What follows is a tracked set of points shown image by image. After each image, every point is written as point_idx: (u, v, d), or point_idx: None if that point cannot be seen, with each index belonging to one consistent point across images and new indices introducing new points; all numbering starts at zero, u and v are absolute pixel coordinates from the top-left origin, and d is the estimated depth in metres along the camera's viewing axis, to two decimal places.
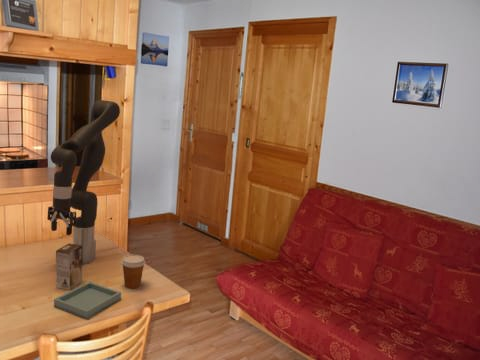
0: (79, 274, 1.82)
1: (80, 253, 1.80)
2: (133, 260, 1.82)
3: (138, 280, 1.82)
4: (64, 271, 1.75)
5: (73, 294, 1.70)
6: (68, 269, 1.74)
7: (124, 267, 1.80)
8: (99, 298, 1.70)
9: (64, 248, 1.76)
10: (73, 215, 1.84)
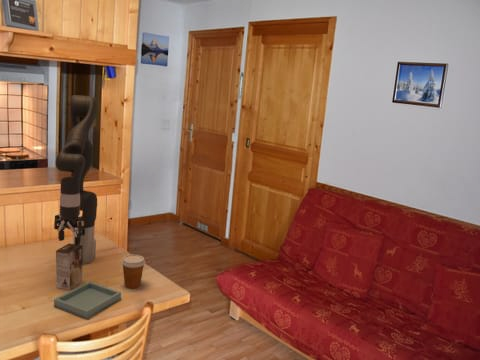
0: (79, 274, 1.82)
1: (80, 253, 1.80)
2: (133, 260, 1.82)
3: (138, 280, 1.82)
4: (64, 271, 1.75)
5: (73, 294, 1.70)
6: (68, 269, 1.74)
7: (124, 267, 1.80)
8: (99, 298, 1.70)
9: (64, 248, 1.76)
10: (82, 224, 1.72)
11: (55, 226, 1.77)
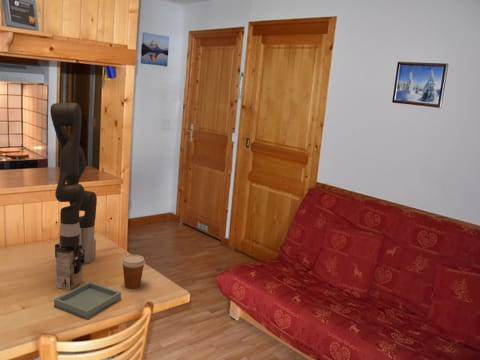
0: (79, 274, 1.82)
1: None
2: (133, 260, 1.82)
3: (138, 280, 1.82)
4: (64, 271, 1.75)
5: (73, 294, 1.70)
6: (68, 269, 1.74)
7: (124, 267, 1.80)
8: (99, 298, 1.70)
9: (64, 248, 1.76)
10: (81, 254, 1.75)
11: None
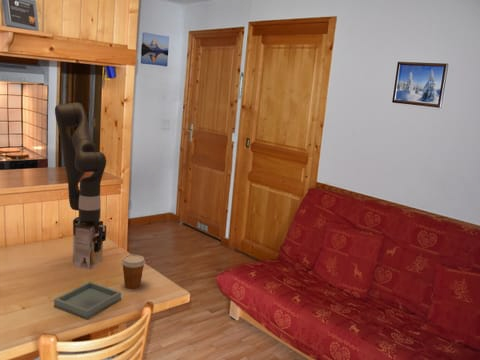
0: (99, 253, 1.65)
1: None
2: (133, 260, 1.82)
3: (138, 280, 1.82)
4: (83, 249, 1.58)
5: (73, 294, 1.70)
6: (88, 246, 1.58)
7: (124, 267, 1.80)
8: (99, 298, 1.70)
9: (83, 224, 1.60)
10: (103, 230, 1.58)
11: (74, 232, 1.64)
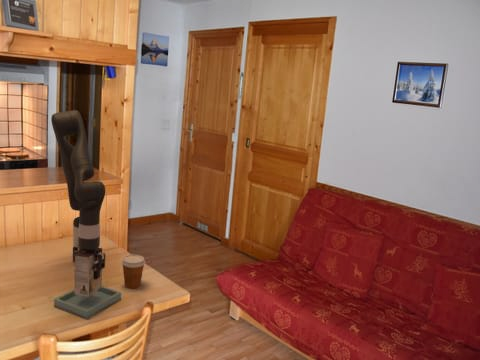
0: (98, 280, 1.67)
1: None
2: (133, 260, 1.82)
3: (138, 280, 1.82)
4: (82, 277, 1.61)
5: (73, 294, 1.70)
6: (88, 274, 1.60)
7: (124, 267, 1.80)
8: (99, 298, 1.70)
9: (82, 252, 1.62)
10: (102, 258, 1.61)
11: None
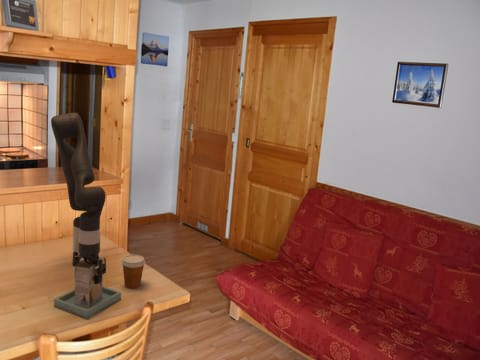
0: (99, 290, 1.68)
1: None
2: (133, 260, 1.82)
3: (138, 280, 1.82)
4: (83, 287, 1.62)
5: (73, 294, 1.70)
6: (88, 285, 1.61)
7: (124, 267, 1.80)
8: None
9: (83, 262, 1.63)
10: (102, 262, 1.61)
11: (73, 263, 1.66)
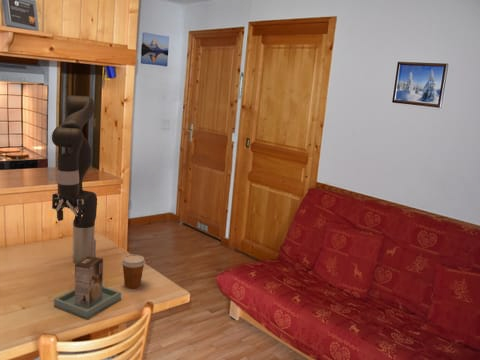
0: (99, 290, 1.68)
1: (100, 267, 1.67)
2: (133, 260, 1.82)
3: (138, 280, 1.82)
4: (83, 287, 1.62)
5: (73, 294, 1.70)
6: (88, 285, 1.61)
7: (124, 267, 1.80)
8: None
9: (83, 262, 1.63)
10: (82, 203, 1.63)
11: (53, 205, 1.68)
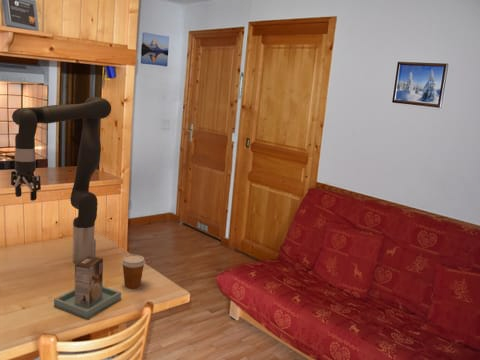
0: (99, 290, 1.68)
1: (100, 267, 1.67)
2: (133, 260, 1.82)
3: (138, 280, 1.82)
4: (83, 287, 1.62)
5: (73, 294, 1.70)
6: (88, 285, 1.61)
7: (124, 267, 1.80)
8: None
9: (83, 262, 1.63)
10: (36, 179, 1.75)
11: (12, 182, 1.80)
